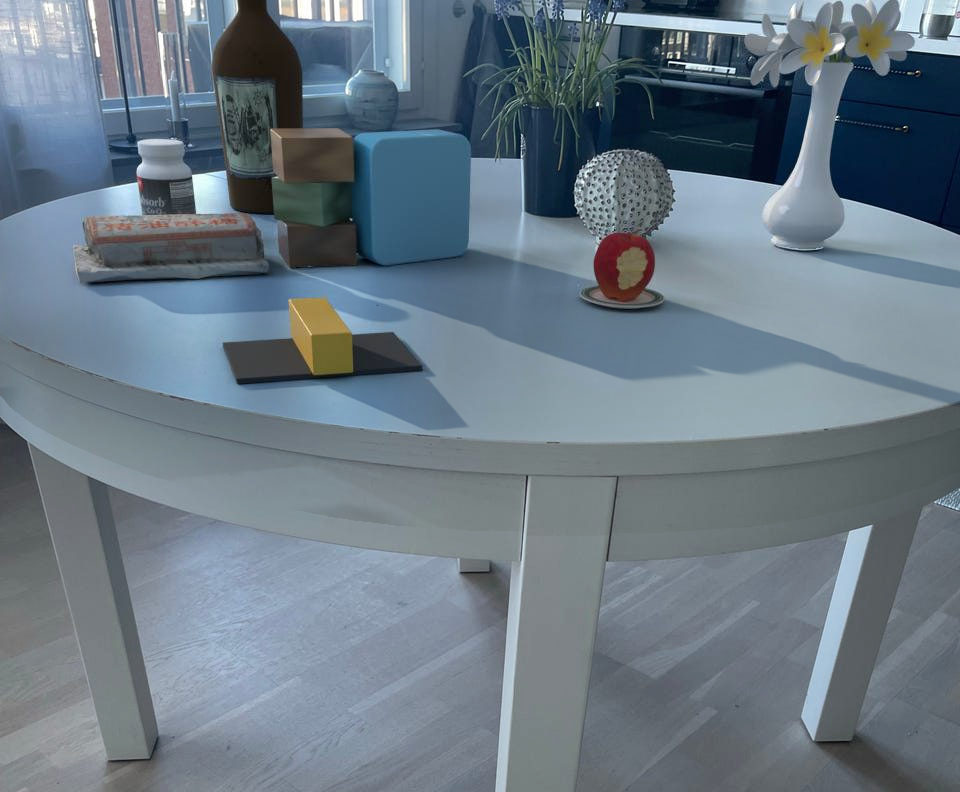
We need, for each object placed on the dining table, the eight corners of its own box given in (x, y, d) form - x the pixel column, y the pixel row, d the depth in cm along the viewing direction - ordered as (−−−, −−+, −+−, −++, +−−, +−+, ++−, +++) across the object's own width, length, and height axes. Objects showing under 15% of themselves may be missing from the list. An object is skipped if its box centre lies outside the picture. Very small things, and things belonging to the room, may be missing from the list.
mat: (237, 384, 74) (236, 378, 73) (222, 347, 81) (222, 342, 81) (422, 370, 78) (422, 365, 77) (393, 336, 85) (393, 331, 85)
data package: (446, 247, 113) (448, 128, 107) (469, 255, 110) (472, 133, 104) (352, 258, 108) (348, 133, 101) (373, 267, 104) (370, 139, 98)
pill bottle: (134, 241, 111) (120, 141, 106) (175, 233, 115) (163, 136, 110) (170, 249, 108) (157, 147, 103) (210, 241, 112) (199, 142, 107)
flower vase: (745, 226, 129) (783, -6, 116) (887, 250, 120) (946, 0, 106) (694, 241, 121) (729, -8, 107) (842, 268, 111) (901, -2, 98)
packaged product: (249, 204, 105) (266, 224, 98) (253, 253, 108) (270, 276, 100) (65, 210, 100) (68, 231, 92) (74, 261, 103) (78, 285, 95)
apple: (680, 303, 97) (690, 230, 93) (628, 317, 92) (637, 242, 88) (614, 286, 101) (621, 216, 98) (562, 299, 96) (567, 226, 93)
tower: (284, 270, 102) (274, 138, 96) (271, 251, 109) (262, 127, 103) (365, 266, 105) (361, 138, 98) (348, 248, 111) (343, 127, 105)
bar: (313, 375, 75) (311, 334, 73) (290, 336, 82) (288, 298, 81) (353, 372, 75) (352, 332, 74) (327, 334, 83) (325, 296, 82)
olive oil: (245, 197, 135) (225, -28, 121) (321, 202, 133) (309, -25, 120) (211, 211, 126) (186, -29, 112) (292, 217, 124) (276, -26, 111)
